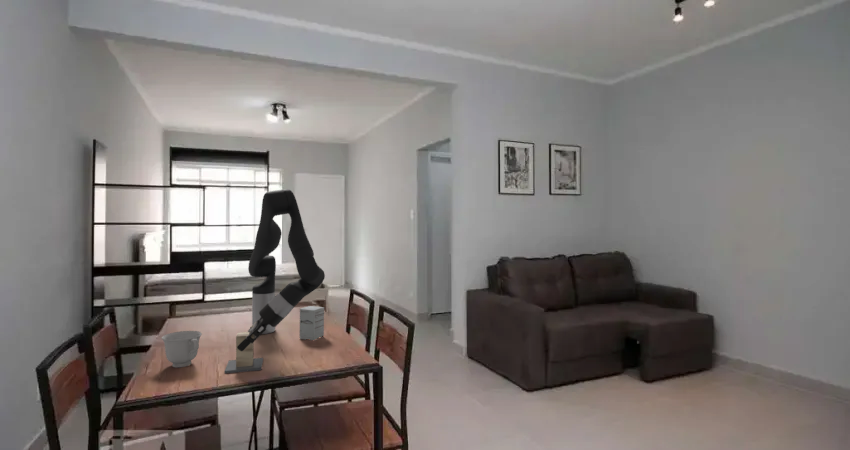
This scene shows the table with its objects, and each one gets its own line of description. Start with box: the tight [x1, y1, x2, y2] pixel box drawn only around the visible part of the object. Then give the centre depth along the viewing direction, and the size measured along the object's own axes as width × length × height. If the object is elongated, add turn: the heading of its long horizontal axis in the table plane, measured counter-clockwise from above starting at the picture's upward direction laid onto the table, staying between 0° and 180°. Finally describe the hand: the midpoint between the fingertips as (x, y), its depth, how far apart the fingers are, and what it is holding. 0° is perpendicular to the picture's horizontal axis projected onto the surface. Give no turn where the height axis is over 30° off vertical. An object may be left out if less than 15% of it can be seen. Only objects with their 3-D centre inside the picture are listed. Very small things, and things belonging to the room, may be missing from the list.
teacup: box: [161, 330, 203, 368], centre depth 148 cm, size 12×15×10 cm
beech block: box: [235, 331, 255, 367], centre depth 147 cm, size 5×5×10 cm
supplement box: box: [298, 305, 325, 341], centre depth 183 cm, size 7×7×13 cm
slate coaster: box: [224, 357, 264, 374], centre depth 147 cm, size 11×11×1 cm
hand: (240, 345), depth 147 cm, fingers open, 8 cm apart
